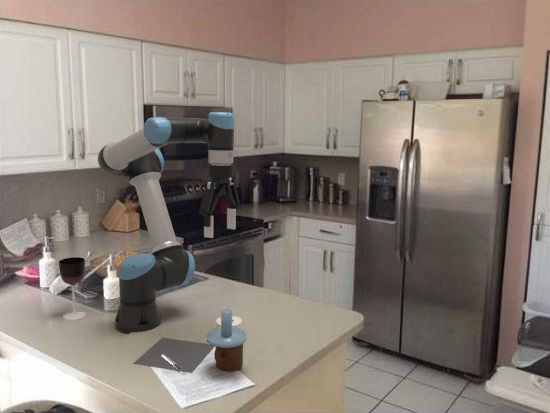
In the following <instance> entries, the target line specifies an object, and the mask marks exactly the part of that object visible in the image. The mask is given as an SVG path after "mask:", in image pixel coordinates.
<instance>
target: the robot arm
mask: <svg viewBox="0 0 550 413" xmlns="http://www.w3.org/2000/svg"><path fill="white" fill-rule="evenodd" d="M234 119H235V118H234V114H233V113H232V112H222V111H220V112H218V111H216V112H215V111H211V112H209V113H208V118H200V117H166V116H165V117H163V116H155V117H149V118H148V119H147V120H146V121H145V123H144V124H143V128H141V129H139V130H138V131H136V132H134V133H132V134H131V135H128V136H127V137H124V138H123V139H121V140H120V141H117V142H115V141H112V142H110V143H107V145H104V146H103V147H101V149H100V151H99V152H98V154H97V163H98V166H99V168H100V169H101V171H103V172H104V173H105V174H107V175H108V176H110V177H115V178H128V182H129V184H130V185H131V186H133V187H134V188H135V190H136V194H137V197H138V200H139V204H140V207H141V208H140V209H141V211H142V215H143V218H144V221H145V224H146V228H147V229H146V230H147V232H148V235H149V239H150V242H151V245H152V250H151V252H150V253H138V254H137V253H136V254H132V255H130V256H127V257H125V258H123V259H122V260H121V262H120V263H119V268H118V279H119V281H118V282H119V307H118V309H117V312H116V316H115V319H114V328H115V329H116V330H117V331H119V332H121V333H125V334H131V333H142V332H147V331H151V330H154V329H156V328H157V327H159V326H160V325H161V324H162V315H161V312H160V309H159V306H158V304H157V296H156V294H157V292H159V291H163V290H166V289H170V288H175V287H180V286H182V285H184V284H188V283H189V282H190V281H192V279H193V277H194V276H195V272H196V262H195V258H194V256H193V254H192V253H191V252H190V251H188V250H186V249H184V245H183V244H182V243H180V242H178V241H177V236H176V234H175V230H174V228H173V224H172V221H171V218H170V215H169V211H168V207H167V204H166V200H165V197H164V195H163V191H162V188H161V185H160V178H161V177H162V172H163V171H164V169H165V168H164V164H165V160H164V156H163V153H162V152H161V150H160V148H163V147H165V146H167V145H169V144H208V148H207V149H208V156H207V157H208V159H207V162H208V164H209V165H208V166H207V167H208V169H207V170H208V171H207V174H208V177H209V178H211V181H205V184H204V185H205V186H204V191H203V192H204V193H203V195H202V200H201V204H200V208H199V211H198V213H199V215H200V216H203V238H210V239H213V238H214V215H213V213H214V210H215V207H216V204H218V201H219V198H221V197H222V196H223V198H224V199H225V202H226V205H227V206H228V208H226V210H227V211H226V228H227V229H228V230H236V223H237V222H236V219H237V217H236V216H237V215H236V214H237V210H238V209H240V204H241V203H240V199H239V194H238V190H237V186H236V178H234V165H233V163H234V157H235V154H234V149H235V148H234V146H235V144H234V142H235V141H234V140H235V138H234V136H235V120H234Z"/></svg>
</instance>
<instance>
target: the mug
mask: <svg viewBox="0 0 550 413" xmlns="http://www.w3.org/2000/svg"><path fill="white" fill-rule="evenodd" d="M213 355H214V357H213V358H214V361H215V367H216V368H217V369H218V370H219V371H220V372H225V373H226V372H227V373H228V372H238V371H240V370H241V369H242V368H243V364H244V343H243V344H241V345H239V346H236V347H230V348H222V347H216V346H215V350H214V354H213Z"/></svg>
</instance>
